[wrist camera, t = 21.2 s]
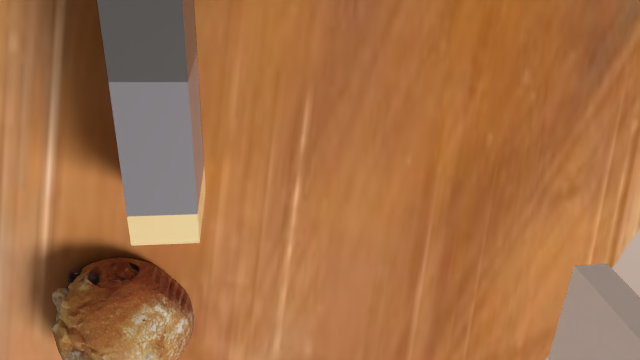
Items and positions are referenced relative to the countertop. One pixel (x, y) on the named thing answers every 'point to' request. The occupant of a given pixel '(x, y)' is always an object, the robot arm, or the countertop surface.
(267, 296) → the countertop surface
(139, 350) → the bread roll
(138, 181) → the grey rectangular block
